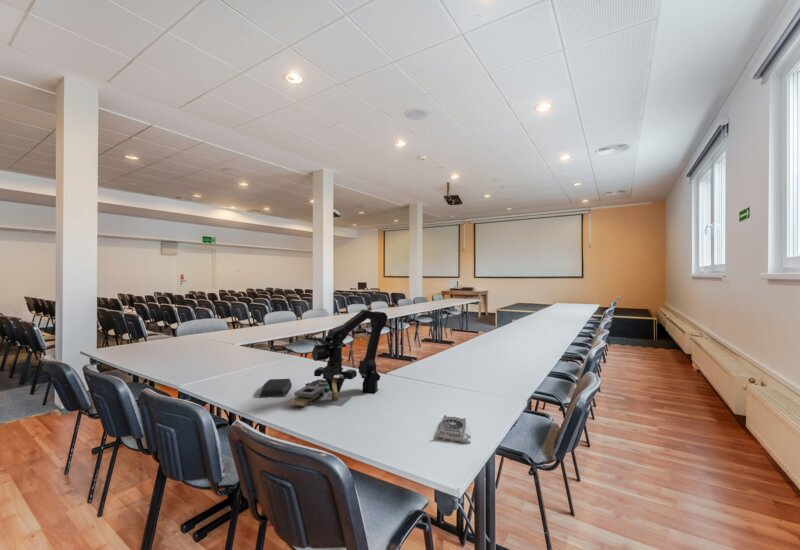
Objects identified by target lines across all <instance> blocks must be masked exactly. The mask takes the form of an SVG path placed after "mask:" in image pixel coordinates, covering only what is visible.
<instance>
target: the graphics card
mask: <svg viewBox="0 0 800 550" xmlns="http://www.w3.org/2000/svg"><path fill="white" fill-rule="evenodd" d="M440 421H441V422H440V424H439V427H438V429H437V430H436V431H435V440H443V441H446V442H455V443H459V444H463V443H465V444H471V439H472V438H471V437H472V436H471V435H469V434H468V433H465V431H466V430H465V429H466V425H467V418H465V417H463V418H461V417H457V416H447V415H446V414H445V415H443V417H442V420H440Z"/></svg>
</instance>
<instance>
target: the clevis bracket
mask: <svg viewBox="0 0 800 550" xmlns="http://www.w3.org/2000/svg"><path fill="white" fill-rule="evenodd" d="M324 398H325V392H324V387H318V386H308V385H307V386H306V385H305V386H304V387H302V388H299V389H298V390H297V391H295V392H294V398H293V399H291V400H289V401H288V404H289V405H292V406H301V407H305V406H314V405H315V404H317V403H318V402H319V401H321V400H322V399H324Z"/></svg>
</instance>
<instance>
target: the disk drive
mask: <svg viewBox="0 0 800 550" xmlns="http://www.w3.org/2000/svg"><path fill="white" fill-rule="evenodd" d="M307 385H308V386H318V387H324V393H330V392H331V390H330V388H329V385H328V382H327V381H326V380H325V379H323V378H321V379H316V380H312V381H311V382H308V383H306V384H305V386H307Z"/></svg>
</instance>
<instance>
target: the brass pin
mask: <svg viewBox="0 0 800 550" xmlns="http://www.w3.org/2000/svg"><path fill="white" fill-rule="evenodd" d="M338 378H339V376H334V377H333V378H332V392H331V395H332V401H338V400H339V396H340V395H339V393H340V392H339V393H338V381H337V379H338Z"/></svg>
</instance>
